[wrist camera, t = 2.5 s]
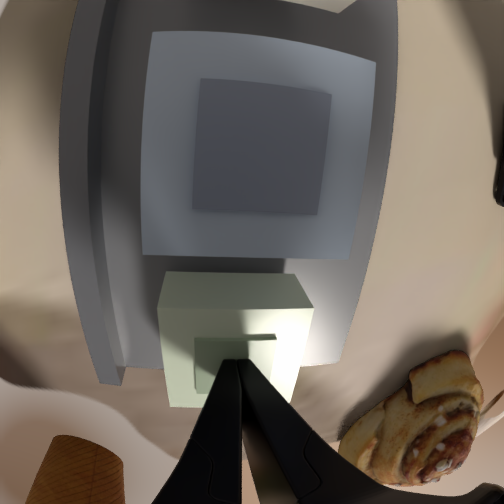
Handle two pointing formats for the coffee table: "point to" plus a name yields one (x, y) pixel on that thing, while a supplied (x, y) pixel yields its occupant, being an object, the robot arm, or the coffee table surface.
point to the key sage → (230, 329)
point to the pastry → (419, 425)
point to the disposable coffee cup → (78, 474)
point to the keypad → (129, 168)
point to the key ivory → (325, 4)
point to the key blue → (252, 146)
